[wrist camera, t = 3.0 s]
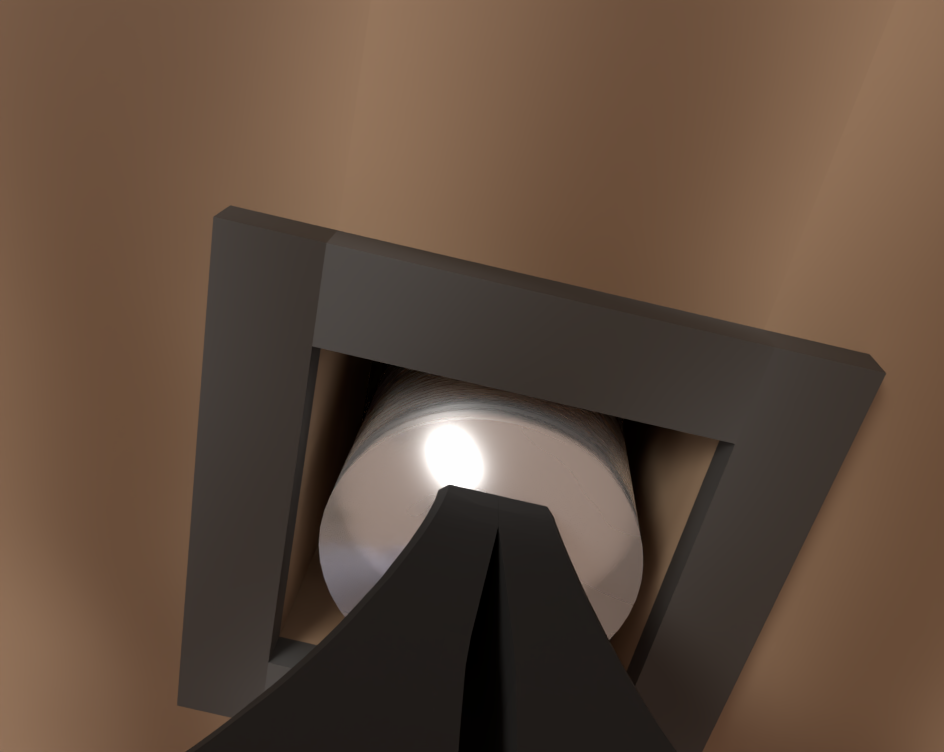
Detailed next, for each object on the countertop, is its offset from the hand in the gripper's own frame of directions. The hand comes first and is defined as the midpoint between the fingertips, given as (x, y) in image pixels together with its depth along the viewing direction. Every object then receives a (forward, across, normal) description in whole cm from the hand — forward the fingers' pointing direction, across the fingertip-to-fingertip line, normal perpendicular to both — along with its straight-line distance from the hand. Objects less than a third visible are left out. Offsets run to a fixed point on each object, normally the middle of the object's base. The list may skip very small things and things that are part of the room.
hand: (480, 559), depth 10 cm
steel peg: (+5, 0, 0) cm, 5 cm away
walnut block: (+5, 0, 0) cm, 5 cm away
